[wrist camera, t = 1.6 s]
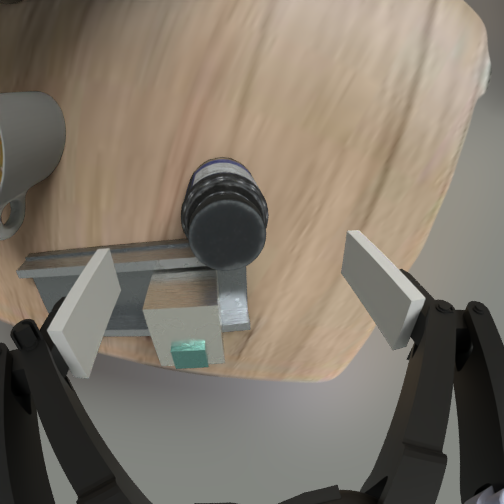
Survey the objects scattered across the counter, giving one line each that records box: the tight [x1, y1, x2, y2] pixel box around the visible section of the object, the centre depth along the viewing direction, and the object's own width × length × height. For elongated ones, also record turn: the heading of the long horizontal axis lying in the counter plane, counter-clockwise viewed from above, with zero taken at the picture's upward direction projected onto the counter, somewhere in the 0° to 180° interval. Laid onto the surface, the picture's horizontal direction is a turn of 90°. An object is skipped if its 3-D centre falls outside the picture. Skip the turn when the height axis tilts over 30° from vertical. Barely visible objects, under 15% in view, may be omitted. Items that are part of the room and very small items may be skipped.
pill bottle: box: [181, 157, 269, 271], centre depth 22 cm, size 6×6×11 cm
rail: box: [16, 239, 250, 369], centre depth 26 cm, size 10×26×10 cm, turn 91°
